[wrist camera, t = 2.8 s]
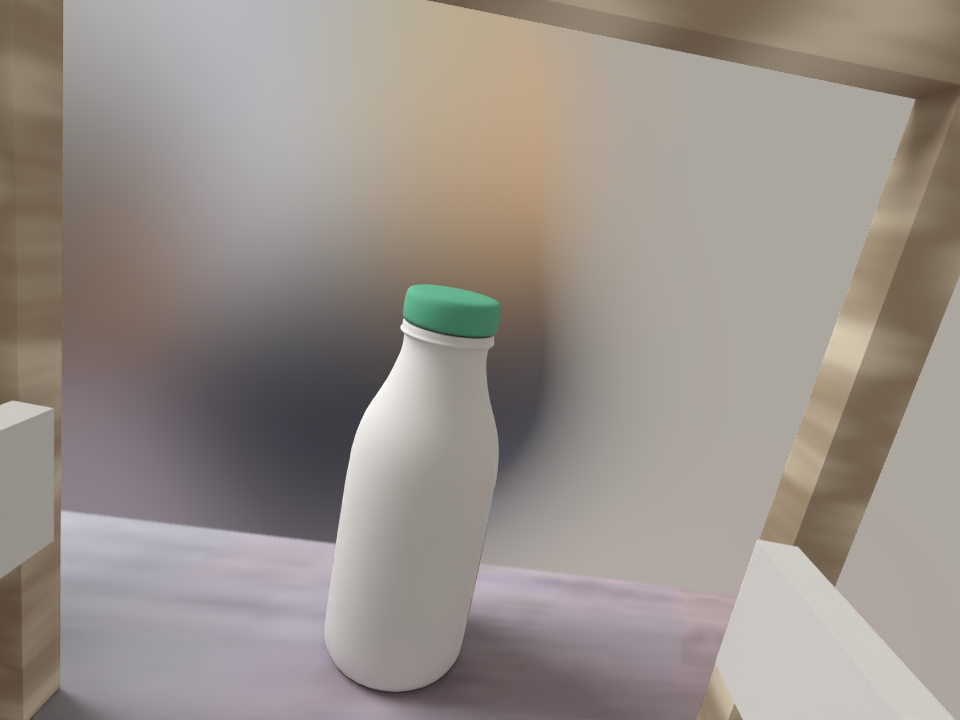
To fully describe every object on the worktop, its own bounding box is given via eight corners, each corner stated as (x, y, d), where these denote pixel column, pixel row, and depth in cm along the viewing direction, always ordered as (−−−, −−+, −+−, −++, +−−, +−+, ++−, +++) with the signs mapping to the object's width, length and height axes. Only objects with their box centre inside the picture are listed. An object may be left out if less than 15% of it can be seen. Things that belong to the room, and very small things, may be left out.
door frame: (-25, 717, 23) (-65, -252, 15) (15, 679, 25) (-1, -199, 17) (728, 852, 24) (1076, -16, 16) (710, 805, 26) (1013, 10, 18)
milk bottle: (458, 708, 28) (544, 322, 23) (304, 685, 28) (358, 288, 23) (461, 605, 36) (527, 295, 31) (340, 586, 35) (387, 269, 31)
